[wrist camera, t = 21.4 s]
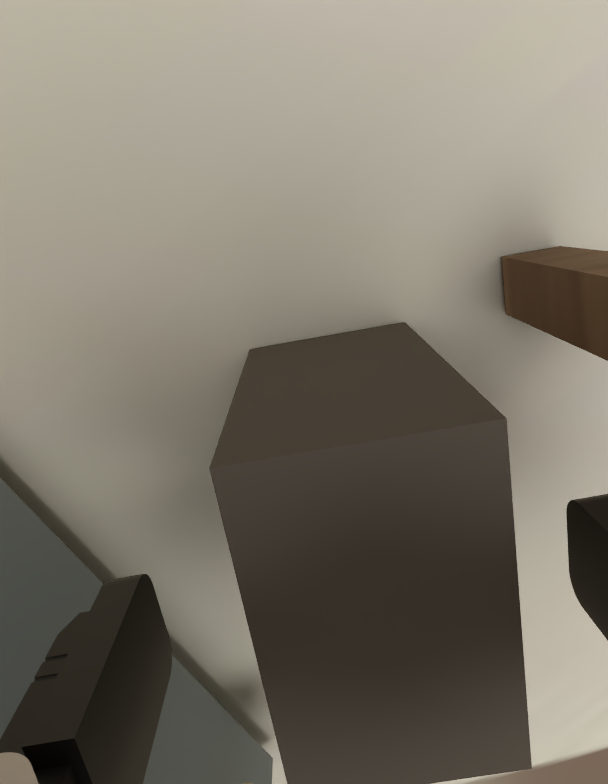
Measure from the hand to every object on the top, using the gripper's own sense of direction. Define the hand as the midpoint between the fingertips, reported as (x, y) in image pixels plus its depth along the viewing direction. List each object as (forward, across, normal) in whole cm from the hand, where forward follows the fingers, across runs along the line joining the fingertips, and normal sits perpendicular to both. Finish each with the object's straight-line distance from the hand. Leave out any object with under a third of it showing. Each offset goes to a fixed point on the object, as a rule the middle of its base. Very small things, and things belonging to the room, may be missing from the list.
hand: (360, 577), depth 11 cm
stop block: (+7, 0, 0) cm, 7 cm away
